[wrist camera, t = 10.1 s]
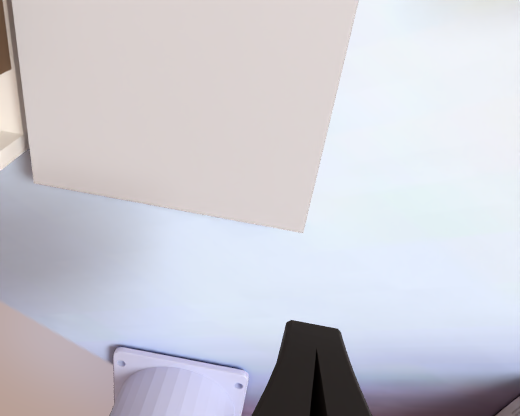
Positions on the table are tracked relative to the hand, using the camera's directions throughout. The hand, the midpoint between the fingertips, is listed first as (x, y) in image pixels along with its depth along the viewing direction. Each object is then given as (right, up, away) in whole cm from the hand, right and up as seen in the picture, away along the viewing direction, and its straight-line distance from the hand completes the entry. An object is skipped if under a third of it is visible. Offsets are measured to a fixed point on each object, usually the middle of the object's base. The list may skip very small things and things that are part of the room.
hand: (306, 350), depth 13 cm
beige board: (-4, +10, +6) cm, 13 cm away
